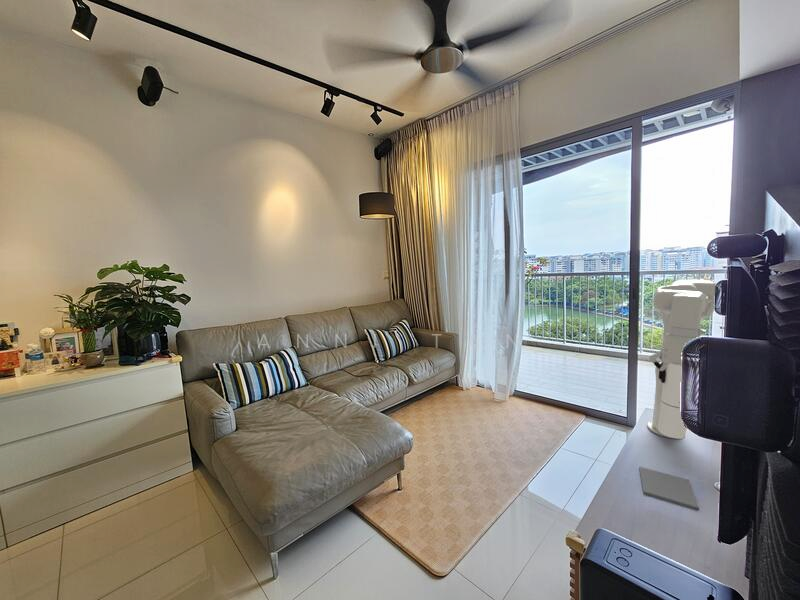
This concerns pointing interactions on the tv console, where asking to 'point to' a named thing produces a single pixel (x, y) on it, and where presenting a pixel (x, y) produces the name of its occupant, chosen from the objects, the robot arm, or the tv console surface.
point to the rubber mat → (668, 487)
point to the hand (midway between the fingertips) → (677, 383)
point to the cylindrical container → (671, 404)
